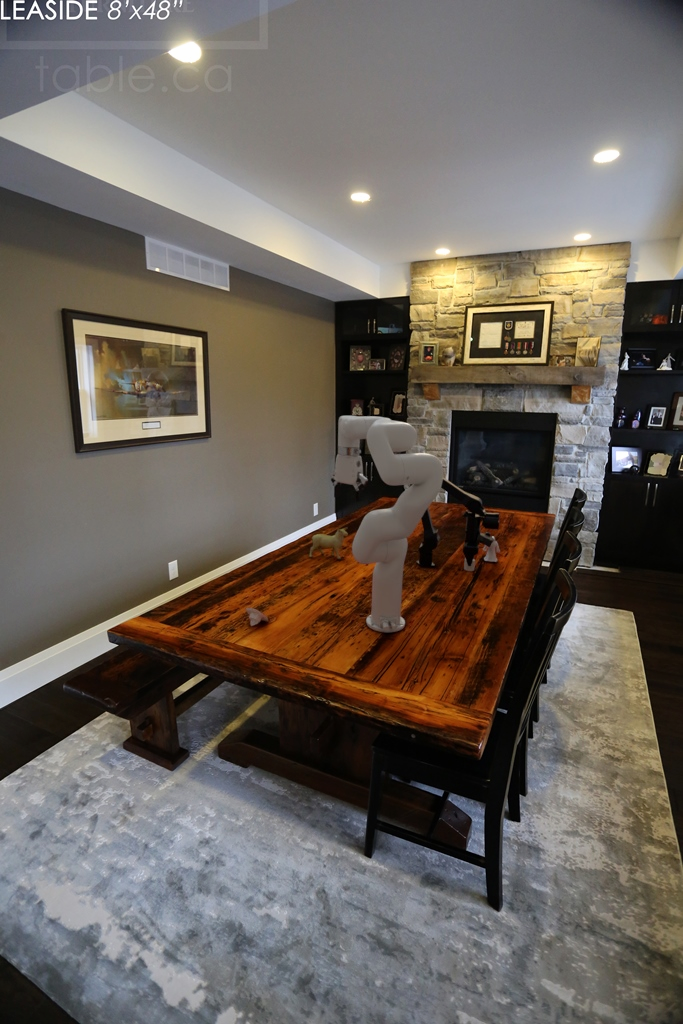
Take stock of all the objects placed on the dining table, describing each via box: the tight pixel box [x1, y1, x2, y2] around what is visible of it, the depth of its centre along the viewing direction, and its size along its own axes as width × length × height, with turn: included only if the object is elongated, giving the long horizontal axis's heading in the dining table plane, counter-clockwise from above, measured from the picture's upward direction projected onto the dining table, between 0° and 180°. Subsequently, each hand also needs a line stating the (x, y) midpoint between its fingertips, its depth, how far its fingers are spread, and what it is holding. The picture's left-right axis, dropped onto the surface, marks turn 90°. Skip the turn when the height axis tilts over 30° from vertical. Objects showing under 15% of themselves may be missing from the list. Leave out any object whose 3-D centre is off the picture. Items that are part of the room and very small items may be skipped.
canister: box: [463, 557, 476, 572], centre depth 213 cm, size 4×4×4 cm
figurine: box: [482, 535, 501, 563], centre depth 223 cm, size 8×8×12 cm
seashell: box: [245, 607, 269, 627], centre depth 160 cm, size 8×5×8 cm
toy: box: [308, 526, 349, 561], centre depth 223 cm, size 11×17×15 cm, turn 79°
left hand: (347, 499), depth 179 cm, fingers open, 9 cm apart
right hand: (469, 562), depth 213 cm, fingers open, 9 cm apart
